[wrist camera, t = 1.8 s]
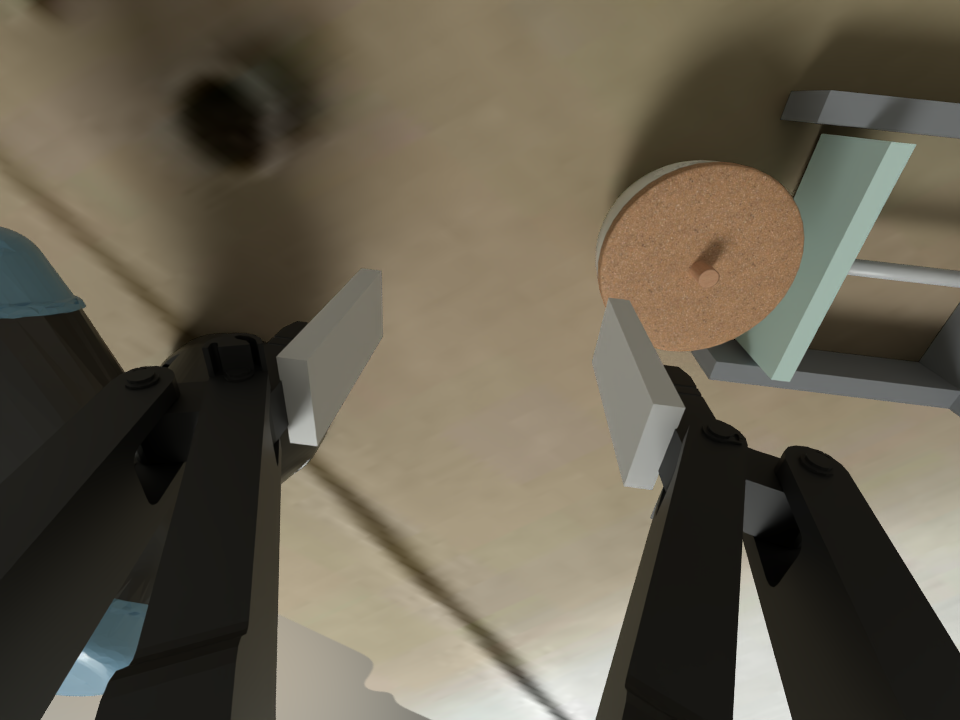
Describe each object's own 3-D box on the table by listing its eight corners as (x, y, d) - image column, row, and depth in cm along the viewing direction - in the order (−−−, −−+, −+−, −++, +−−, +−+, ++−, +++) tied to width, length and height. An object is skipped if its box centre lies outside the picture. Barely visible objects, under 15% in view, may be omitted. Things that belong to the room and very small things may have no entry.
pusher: (733, 337, 34) (771, 379, 29) (821, 133, 27) (891, 141, 22) (955, 363, 34) (1033, 411, 29) (1104, 163, 27) (1243, 179, 22)
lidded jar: (568, 181, 30) (583, 211, 22) (738, 122, 28) (826, 132, 20) (601, 319, 35) (624, 385, 27) (749, 279, 33) (822, 339, 25)
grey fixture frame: (691, 352, 36) (724, 403, 30) (791, 91, 27) (868, 89, 21) (926, 380, 35) (1009, 438, 29) (1111, 124, 26) (1286, 132, 20)
